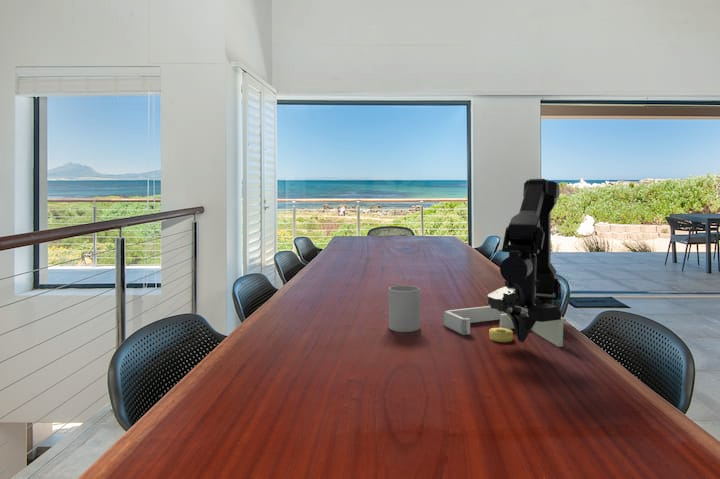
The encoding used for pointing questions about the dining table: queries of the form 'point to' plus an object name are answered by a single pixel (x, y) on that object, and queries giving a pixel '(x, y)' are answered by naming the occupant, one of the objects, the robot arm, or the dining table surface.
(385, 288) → the dining table surface
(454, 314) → the white open pen
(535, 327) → the cover
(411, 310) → the mug
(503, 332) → the cord coil
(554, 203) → the robot arm
